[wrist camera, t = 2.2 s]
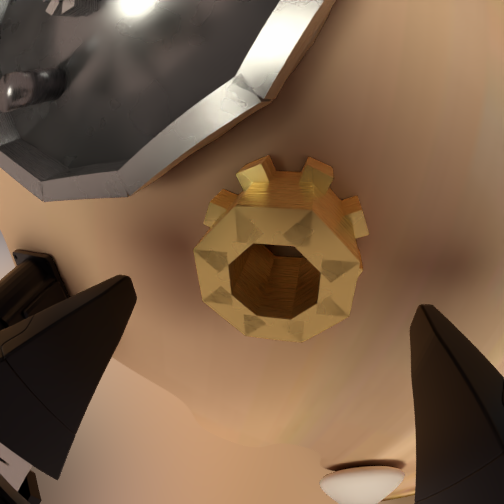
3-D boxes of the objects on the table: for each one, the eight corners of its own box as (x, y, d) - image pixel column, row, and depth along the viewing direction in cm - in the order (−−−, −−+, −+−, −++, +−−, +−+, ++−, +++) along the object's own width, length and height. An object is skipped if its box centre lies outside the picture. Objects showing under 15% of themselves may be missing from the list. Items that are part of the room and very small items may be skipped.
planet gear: (224, 281, 14) (195, 338, 11) (211, 155, 11) (163, 184, 8) (351, 293, 13) (355, 357, 10) (369, 160, 10) (393, 193, 6)
